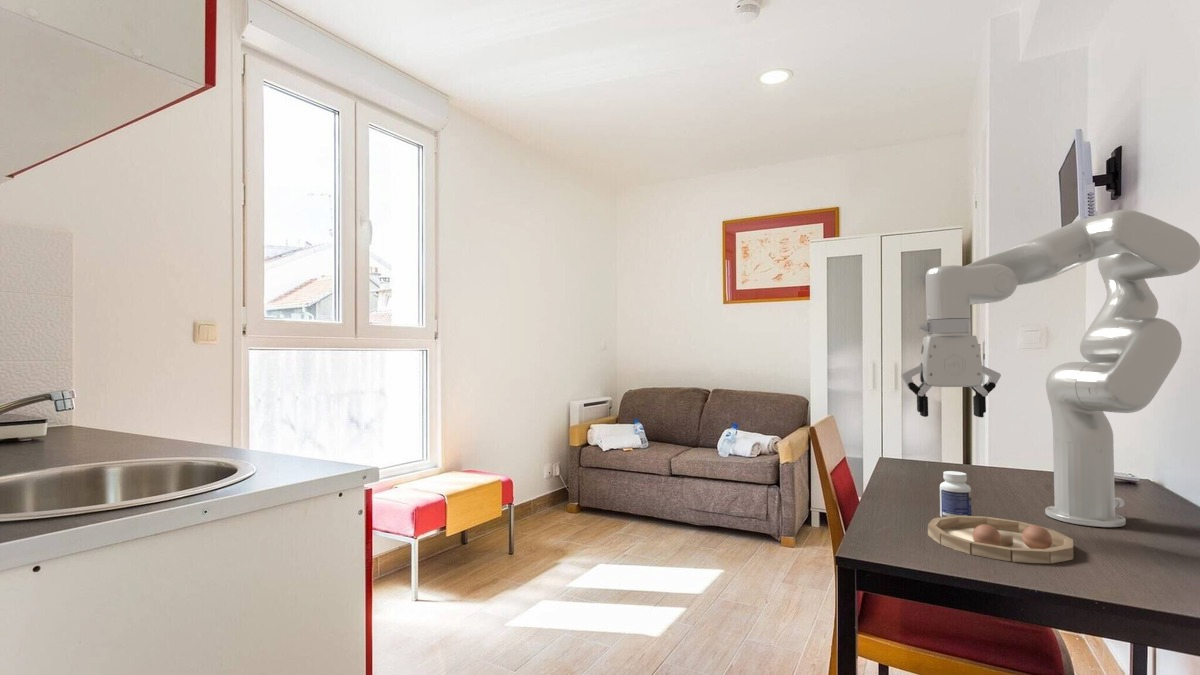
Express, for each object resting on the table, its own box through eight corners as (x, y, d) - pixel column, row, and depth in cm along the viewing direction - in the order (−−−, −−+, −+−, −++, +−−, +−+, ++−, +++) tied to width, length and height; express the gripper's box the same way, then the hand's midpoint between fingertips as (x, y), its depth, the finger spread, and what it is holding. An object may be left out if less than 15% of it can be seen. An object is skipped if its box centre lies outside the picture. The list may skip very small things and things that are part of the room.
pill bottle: (976, 527, 116) (975, 476, 116) (945, 525, 117) (945, 475, 117) (965, 519, 121) (964, 470, 121) (936, 518, 122) (935, 469, 122)
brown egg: (983, 544, 102) (983, 520, 102) (1007, 551, 98) (1006, 526, 98) (966, 547, 100) (966, 522, 100) (990, 554, 97) (989, 529, 97)
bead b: (1032, 545, 101) (1032, 521, 101) (1058, 552, 98) (1057, 527, 98) (1016, 548, 100) (1016, 523, 100) (1042, 555, 96) (1041, 530, 96)
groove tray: (982, 526, 116) (981, 511, 116) (1102, 559, 97) (1102, 542, 97) (903, 537, 109) (903, 522, 109) (1017, 576, 90) (1017, 557, 90)
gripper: (905, 329, 117) (907, 417, 116) (1006, 327, 112) (1009, 419, 112) (896, 330, 124) (898, 414, 123) (990, 328, 120) (993, 414, 119)
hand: (951, 416), depth 118 cm, fingers open, 9 cm apart
